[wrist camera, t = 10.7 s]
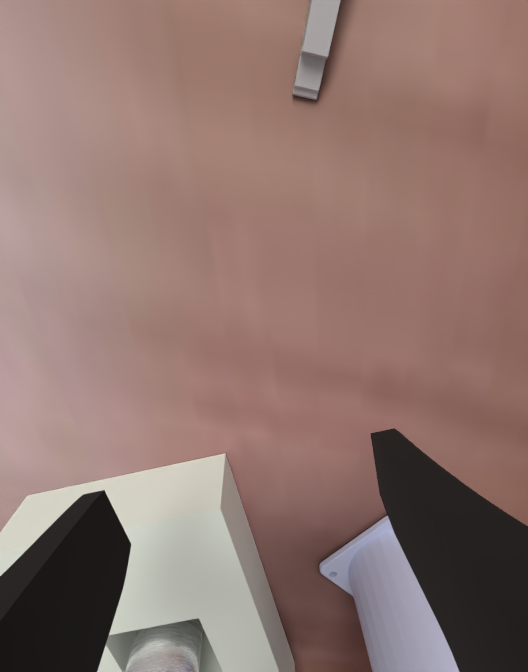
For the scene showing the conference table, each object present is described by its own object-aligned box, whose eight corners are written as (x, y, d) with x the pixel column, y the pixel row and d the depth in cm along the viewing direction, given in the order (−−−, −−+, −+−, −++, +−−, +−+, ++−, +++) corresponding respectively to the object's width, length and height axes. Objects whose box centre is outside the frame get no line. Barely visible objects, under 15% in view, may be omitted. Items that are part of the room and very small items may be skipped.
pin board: (294, 661, 29) (300, 732, 25) (143, 689, 29) (127, 762, 26) (225, 453, 22) (220, 508, 18) (27, 495, 22) (-18, 557, 18)
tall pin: (220, 586, 26) (207, 750, 18) (180, 615, 26) (153, 783, 19) (175, 557, 24) (142, 718, 17) (135, 588, 25) (87, 755, 18)
